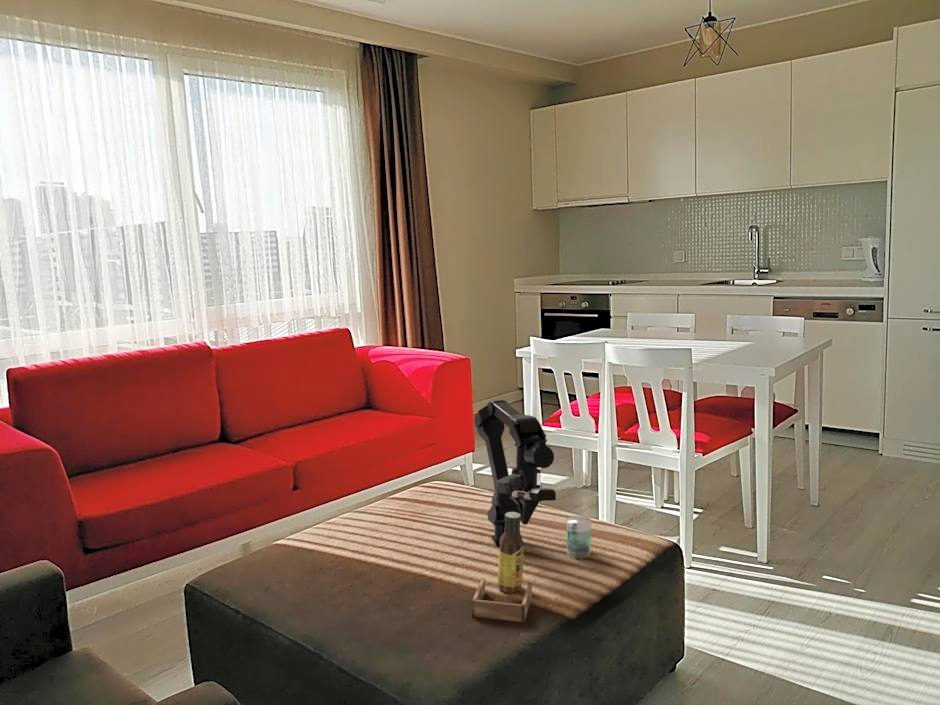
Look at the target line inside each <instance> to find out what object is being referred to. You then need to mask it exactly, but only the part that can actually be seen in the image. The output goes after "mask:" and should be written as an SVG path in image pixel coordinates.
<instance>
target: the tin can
mask: <svg viewBox="0 0 940 705" xmlns="http://www.w3.org/2000/svg"><path fill="white" fill-rule="evenodd" d="M591 544H592V519H590V518H589V517H588V516H584V515H572V516H569V517H568V518H567V521H566V555H569V556H571V557H574V558H586V559H588V558H590V557H591V549H592V545H591ZM569 556H568V557H569ZM589 556H590V557H589ZM571 557H570V558H571ZM587 557H588V558H587ZM574 558H573V559H574Z"/></svg>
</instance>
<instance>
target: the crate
mask: <svg viewBox="0 0 940 705" xmlns="http://www.w3.org/2000/svg"><path fill="white" fill-rule="evenodd" d="M532 588H533V584H532V582H528V584H527V587H526V590H525V593H524V597H523V599H522V602H521V604H520V603H513V602H502V601H493V600H483V599H484V596H485V594H486V577H481V580H480V582H479V584H478V586H477V588H476V590H475V593H474V595H473V597H472V599H471V617H474V618H485V619H494V620H500V621H501V620H502V621H509V622H520V623H525V622H526V617H527V615H528V612H529V608H530V606H531V601H532V598H533V596H532V595H533V594H532V593H533V589H532Z"/></svg>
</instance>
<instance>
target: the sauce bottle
mask: <svg viewBox="0 0 940 705" xmlns="http://www.w3.org/2000/svg"><path fill="white" fill-rule="evenodd" d="M521 522H522V521H521V515H520V514H519V513H517V512H507V513H506V514H505V532H504V533H503V535H502V536H501V538H500V546H499V548H498V563H497V587H498V589H499V590H500V591H502V592H503V593H509V594H512V593H517V592H519V591H520V590H521V589H522V584H523V572H524V570H523V569H524V553H525V552H524V550H525V548H524V547H525V543H524V540H523V537H522V535H521V527H520V526H521Z"/></svg>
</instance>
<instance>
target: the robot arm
mask: <svg viewBox="0 0 940 705" xmlns="http://www.w3.org/2000/svg"><path fill="white" fill-rule="evenodd" d="M473 421H474V426H475V428H476V431H477V434H478V435H479V437H480V438H481V439H482V440H483V441H484V442H485V446H486V451H487V452H486V453H487V457H488V461H489V466H490V467H489V468H490V470H491V477H492V481H493V482H492V483H493V486H494V491H493V492H494V493H493V495H492V498H491V507H489V509H488V511H487V513H486V514H487V521H488V522H489V523H491V525H493V526H494V534H492V535H491V536H490V537H491V539H492V542H493V543H494V545H495V546H497V547H499V546H498V545H500V538H501V536H502V535H503V533H504V532H505V514H506V513H507V512H517V513H519V514H520V515H521V521H520V522H521V523H522V525H525V526H527V525H528V524H529V522H530V521H531V518H532V517H533V514H534V513H535V510H536V509H537V507H538V505H539V503H540V502H546V501H547V502H549V501H557V491H555V489H552V488H549V487H548V488H546V487H542V488H541V484H538V474H541V473H542V472H541V471H542V470H541V469H547V468H549V467H551V465H552V464H553V463H554V460H555V453H554V451H553V450H552V448H550V447H549V446H548V445H547V442H548V440H547V435H546V433H545V431H544V430H543V428H542V425H541V423H540V421H539V420H538V419H537V418H536V417H535V416H534V415H533V416H532V415H529V414H528V415H527V414H522V413H520V411H518V410H516V409H515V408H514V407H512V406H511V405H510V404H508V402H507V400H504V399H499V400H497V399H496V400H491V401H489V402H488V403H487V405H486V406H484V407H482V408H480V409H479V410H478V411H477V412H476V414H475V415H474V418H473ZM505 426H507V427H508V428H509V430H508V431H509V432H508V433H509V435H510V436H511V438H512V440H514V442H515V443H514V447H516V455H515V456H516V457H515V458H516V460H515V461H516V463H515V467H512V470H511V474H509V470H508V465H507V460H506V455H505V450H504V445H503V440H502V436H503V434H504V431H505Z"/></svg>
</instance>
